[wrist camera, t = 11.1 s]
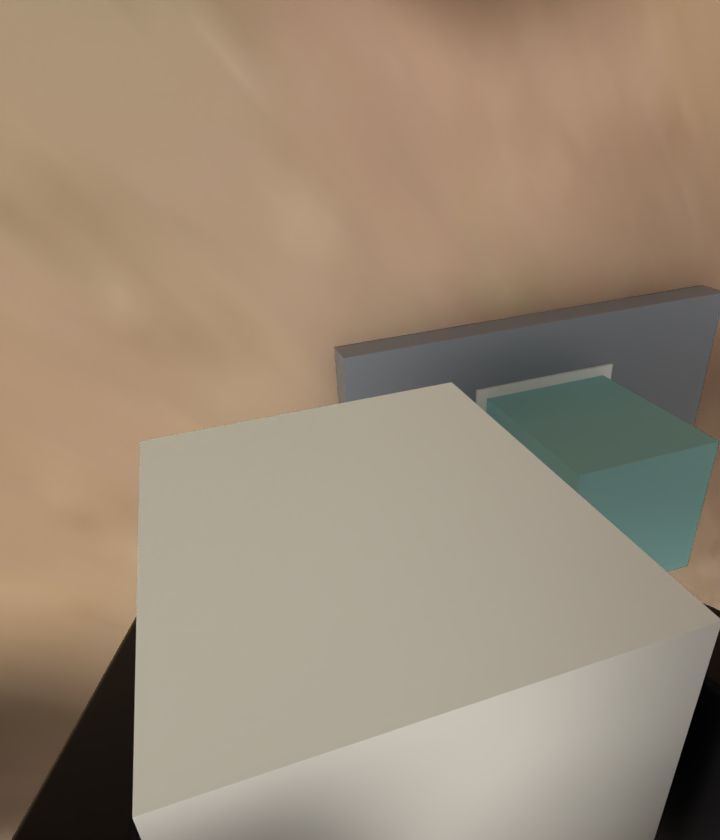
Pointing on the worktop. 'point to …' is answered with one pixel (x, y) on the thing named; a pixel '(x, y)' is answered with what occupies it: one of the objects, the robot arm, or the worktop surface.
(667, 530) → the teal block
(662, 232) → the worktop surface
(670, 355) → the slate plate
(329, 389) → the worktop surface
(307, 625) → the cream block
